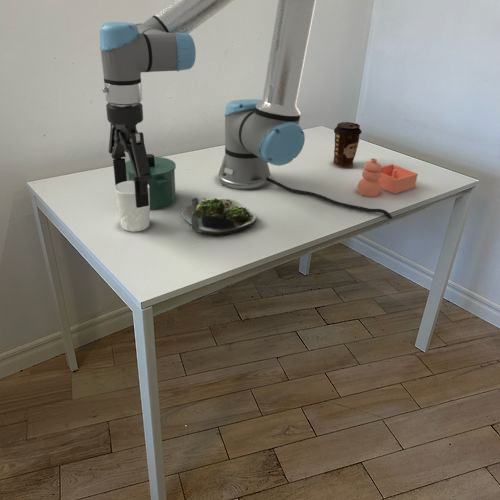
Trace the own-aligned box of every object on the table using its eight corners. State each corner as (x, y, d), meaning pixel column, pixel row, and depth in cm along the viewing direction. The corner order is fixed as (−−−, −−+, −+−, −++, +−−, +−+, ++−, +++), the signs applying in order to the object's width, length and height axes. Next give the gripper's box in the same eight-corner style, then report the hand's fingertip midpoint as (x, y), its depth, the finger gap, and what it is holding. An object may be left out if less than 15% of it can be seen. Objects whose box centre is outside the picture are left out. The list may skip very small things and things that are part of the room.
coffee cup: (361, 164, 163) (367, 124, 156) (351, 171, 157) (356, 130, 150) (336, 158, 167) (341, 119, 160) (325, 165, 161) (330, 125, 154)
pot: (160, 183, 143) (158, 153, 139) (187, 207, 130) (186, 174, 126) (118, 192, 137) (114, 160, 133) (142, 217, 125) (140, 183, 120)
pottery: (389, 176, 154) (395, 145, 149) (414, 187, 147) (421, 155, 142) (348, 189, 144) (352, 156, 140) (373, 200, 138) (378, 166, 133)
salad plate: (165, 210, 128) (164, 194, 126) (226, 197, 136) (226, 181, 134) (199, 243, 114) (199, 225, 112) (265, 226, 122) (266, 209, 120)
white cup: (113, 231, 118) (108, 191, 113) (126, 216, 125) (122, 179, 120) (145, 234, 117) (142, 195, 112) (156, 219, 124) (154, 182, 119)
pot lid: (163, 157, 138) (162, 144, 136) (184, 173, 128) (183, 159, 126) (116, 165, 131) (115, 151, 129) (135, 183, 122) (133, 168, 120)
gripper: (88, 91, 113) (98, 179, 124) (128, 119, 95) (135, 219, 106) (120, 89, 117) (127, 174, 127) (164, 115, 99) (168, 212, 109)
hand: (131, 195), depth 117 cm, fingers open, 13 cm apart
